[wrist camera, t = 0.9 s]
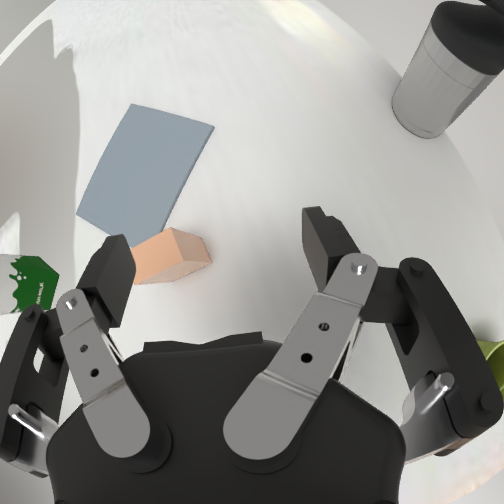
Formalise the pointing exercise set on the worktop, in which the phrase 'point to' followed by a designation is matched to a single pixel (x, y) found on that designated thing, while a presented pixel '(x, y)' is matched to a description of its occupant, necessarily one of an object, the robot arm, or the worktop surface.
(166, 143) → the mat
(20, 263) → the milk carton
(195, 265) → the terracotta block
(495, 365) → the plant pot
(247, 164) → the worktop surface
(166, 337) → the worktop surface
